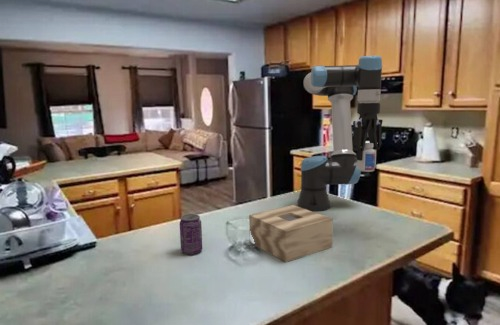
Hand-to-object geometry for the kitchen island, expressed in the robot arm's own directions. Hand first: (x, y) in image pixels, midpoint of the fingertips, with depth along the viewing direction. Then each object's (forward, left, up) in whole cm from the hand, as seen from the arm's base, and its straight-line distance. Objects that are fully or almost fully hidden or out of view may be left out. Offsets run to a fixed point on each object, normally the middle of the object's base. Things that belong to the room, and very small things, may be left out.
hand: (366, 168), depth 129 cm
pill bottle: (0, 0, -1) cm, 1 cm away
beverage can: (-24, -58, -25) cm, 68 cm away
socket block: (-9, -28, -25) cm, 38 cm away
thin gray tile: (-9, -28, -17) cm, 34 cm away
